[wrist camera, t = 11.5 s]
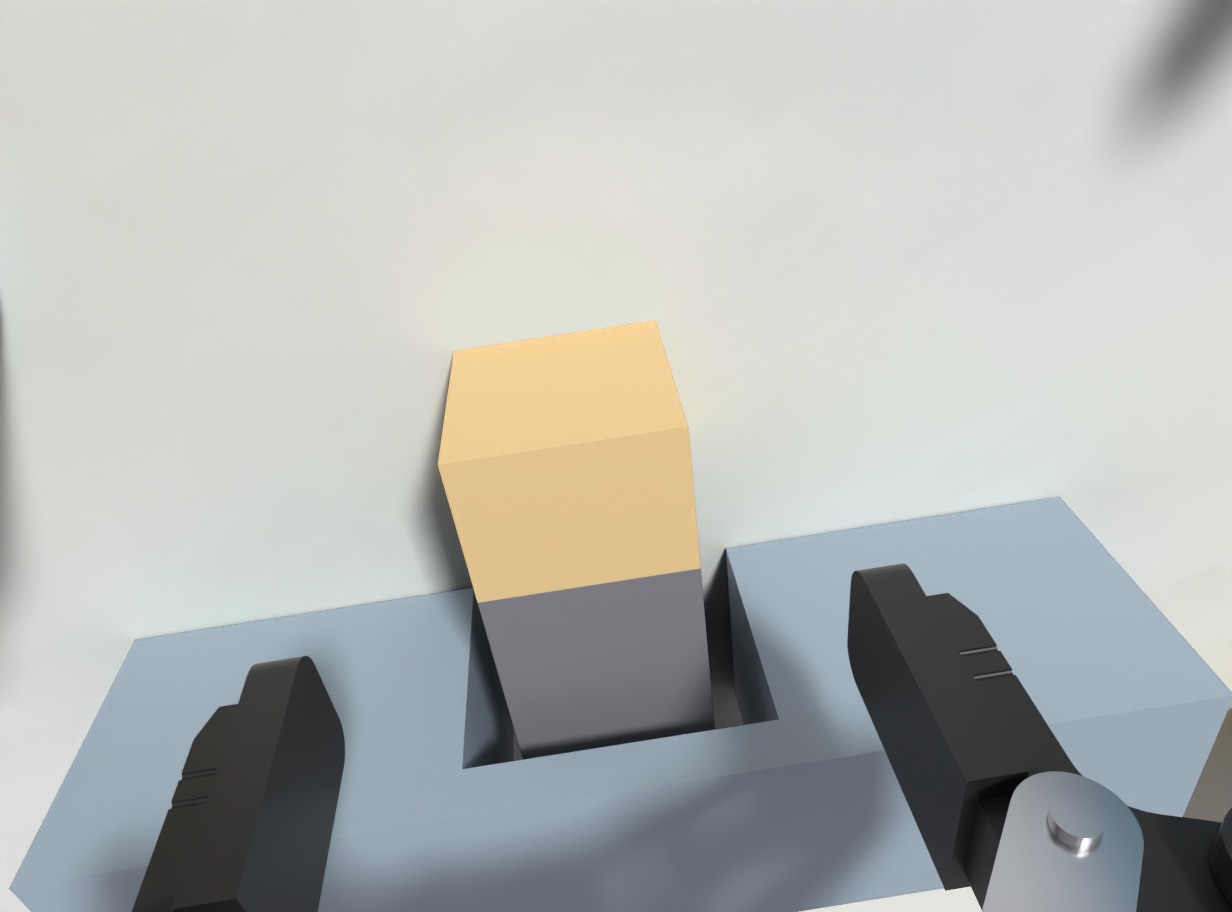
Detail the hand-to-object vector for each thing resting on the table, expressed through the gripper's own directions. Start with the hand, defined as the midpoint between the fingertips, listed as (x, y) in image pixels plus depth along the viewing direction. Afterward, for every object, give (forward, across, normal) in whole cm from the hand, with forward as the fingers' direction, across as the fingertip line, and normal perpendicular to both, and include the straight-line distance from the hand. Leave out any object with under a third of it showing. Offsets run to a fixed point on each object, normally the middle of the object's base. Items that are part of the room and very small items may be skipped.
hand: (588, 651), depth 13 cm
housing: (+6, 0, +6) cm, 9 cm away
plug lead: (+6, 0, +7) cm, 9 cm away
